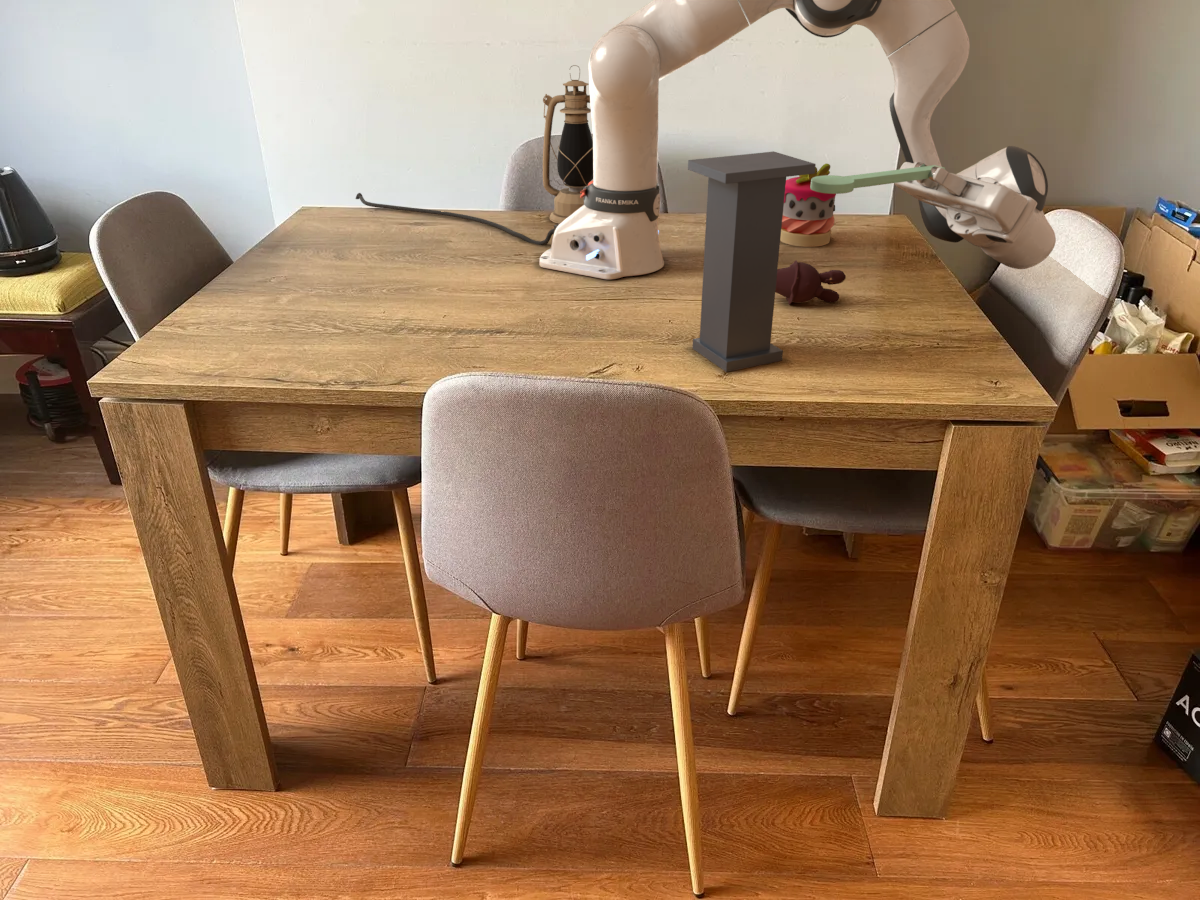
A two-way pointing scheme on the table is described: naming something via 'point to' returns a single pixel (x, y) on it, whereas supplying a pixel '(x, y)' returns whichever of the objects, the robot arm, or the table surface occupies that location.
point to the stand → (742, 255)
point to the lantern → (569, 150)
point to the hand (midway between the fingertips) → (924, 169)
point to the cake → (807, 212)
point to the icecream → (807, 283)
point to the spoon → (867, 179)
